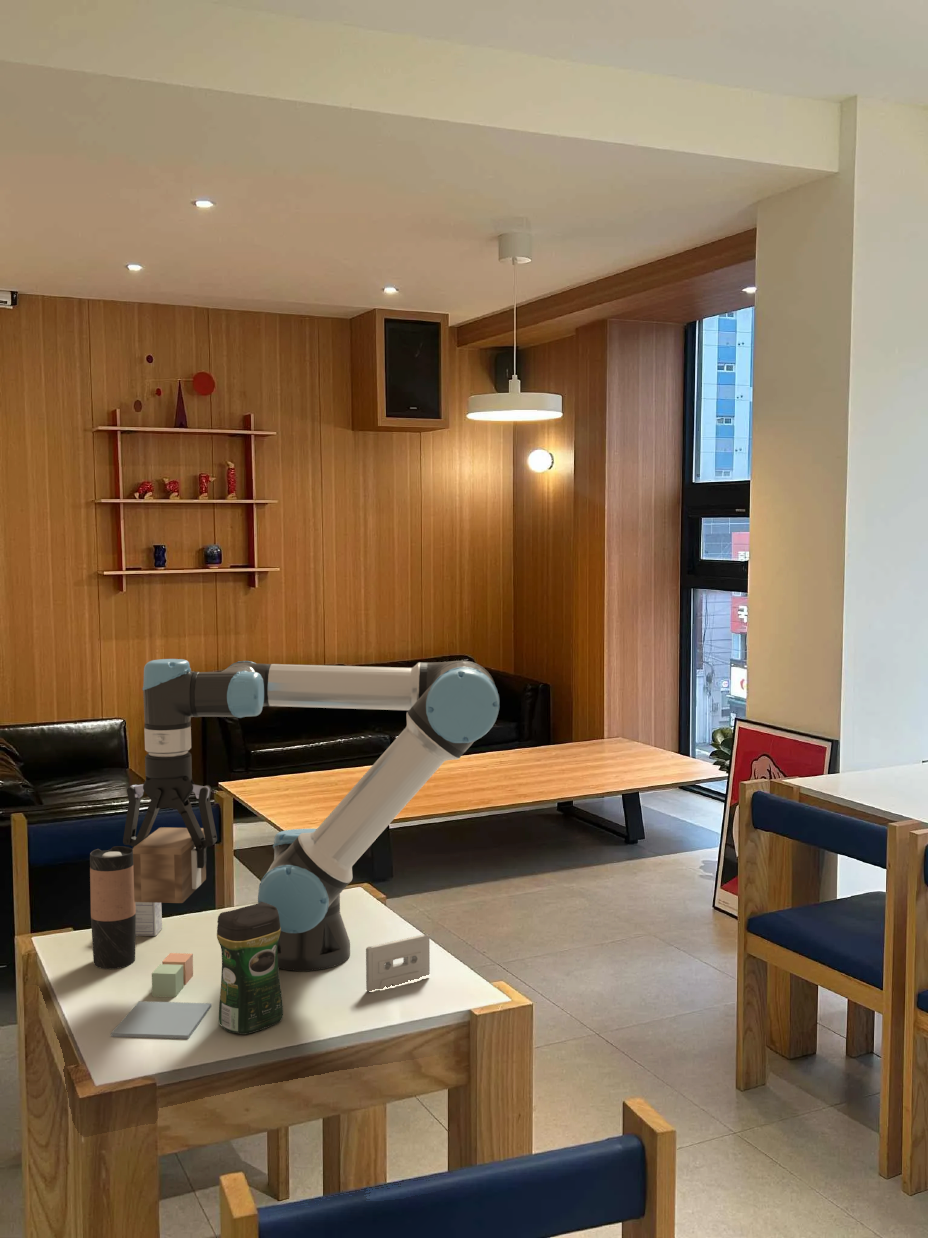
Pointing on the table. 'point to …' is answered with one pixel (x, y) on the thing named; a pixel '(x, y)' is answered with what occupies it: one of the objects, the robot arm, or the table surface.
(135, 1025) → the slate mat
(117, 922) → the travel mug
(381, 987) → the cassette
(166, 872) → the tan rectangular box
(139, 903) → the medicine box
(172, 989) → the sage green block
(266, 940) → the coffee jar
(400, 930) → the table surface
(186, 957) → the terracotta block
